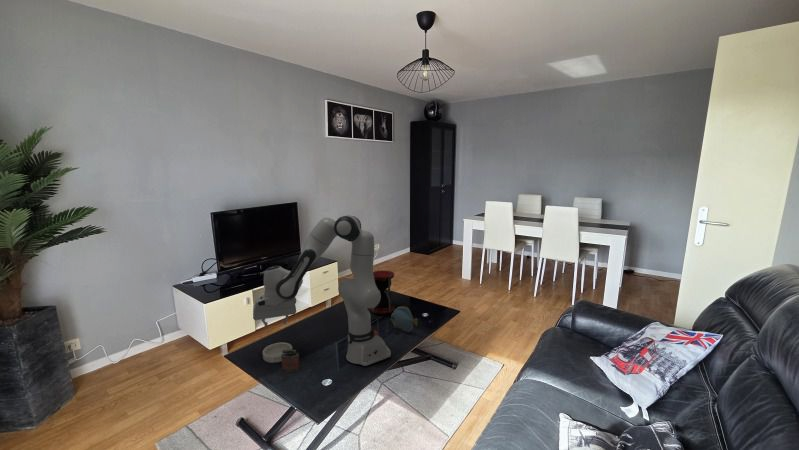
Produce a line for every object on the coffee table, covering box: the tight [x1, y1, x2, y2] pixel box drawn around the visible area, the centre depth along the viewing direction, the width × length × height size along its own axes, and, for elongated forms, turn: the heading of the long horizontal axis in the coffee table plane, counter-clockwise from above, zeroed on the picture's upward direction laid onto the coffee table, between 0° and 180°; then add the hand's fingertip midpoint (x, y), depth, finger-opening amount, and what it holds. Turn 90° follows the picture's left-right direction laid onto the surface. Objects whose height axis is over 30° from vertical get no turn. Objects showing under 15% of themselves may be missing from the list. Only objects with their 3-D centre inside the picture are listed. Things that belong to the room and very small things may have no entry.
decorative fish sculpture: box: [389, 306, 418, 333], centre depth 195 cm, size 12×20×15 cm, turn 56°
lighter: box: [281, 348, 301, 373], centre depth 157 cm, size 8×3×10 cm, turn 94°
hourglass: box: [370, 270, 396, 315], centre depth 224 cm, size 16×16×25 cm
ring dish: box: [262, 342, 293, 364], centre depth 170 cm, size 14×14×3 cm
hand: (275, 324), depth 168 cm, fingers open, 7 cm apart
